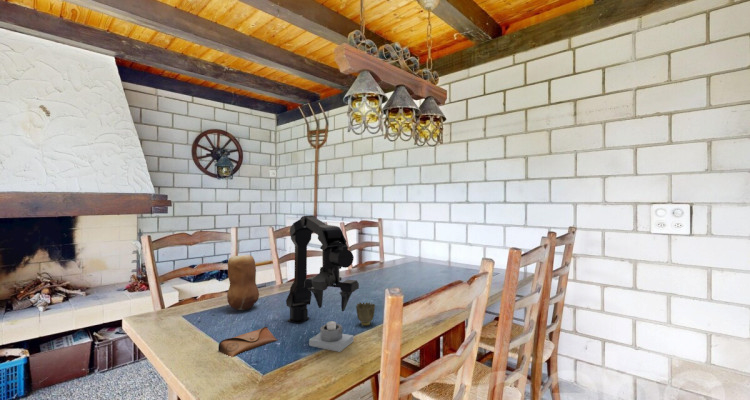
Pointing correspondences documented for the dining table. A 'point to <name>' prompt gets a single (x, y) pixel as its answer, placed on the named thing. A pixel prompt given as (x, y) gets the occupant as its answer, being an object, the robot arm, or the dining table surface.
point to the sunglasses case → (246, 342)
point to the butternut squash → (242, 282)
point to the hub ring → (331, 333)
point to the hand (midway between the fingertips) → (331, 309)
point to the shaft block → (334, 345)
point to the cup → (365, 313)
